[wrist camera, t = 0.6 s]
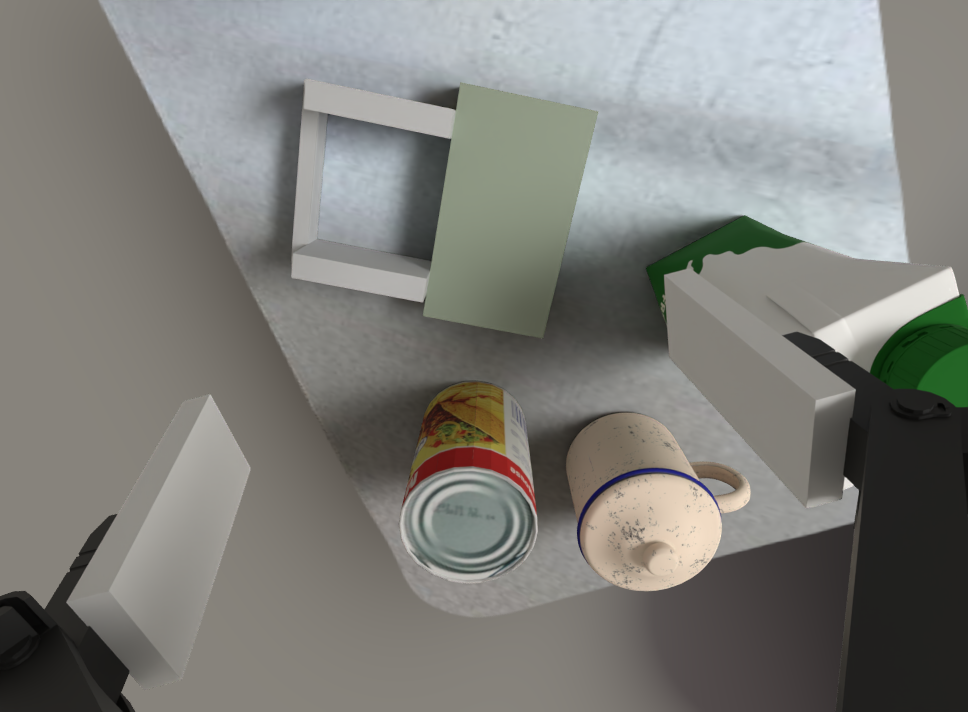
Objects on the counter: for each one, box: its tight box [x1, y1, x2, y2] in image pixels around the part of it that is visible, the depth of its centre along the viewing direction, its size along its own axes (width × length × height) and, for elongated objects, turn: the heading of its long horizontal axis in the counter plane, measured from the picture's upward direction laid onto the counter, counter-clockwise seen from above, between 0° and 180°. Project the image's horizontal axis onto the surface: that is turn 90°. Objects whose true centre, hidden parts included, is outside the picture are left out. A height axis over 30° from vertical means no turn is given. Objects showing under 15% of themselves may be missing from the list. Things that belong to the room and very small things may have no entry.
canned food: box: [399, 381, 538, 583], centre depth 38 cm, size 8×8×12 cm
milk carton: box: [646, 216, 968, 490], centre depth 30 cm, size 9×9×20 cm
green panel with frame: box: [291, 79, 598, 339], centre depth 35 cm, size 14×17×5 cm
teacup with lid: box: [566, 413, 750, 591], centre depth 39 cm, size 12×9×12 cm
